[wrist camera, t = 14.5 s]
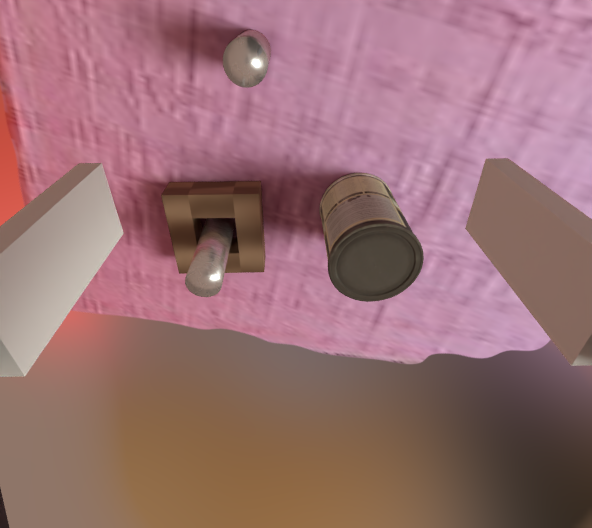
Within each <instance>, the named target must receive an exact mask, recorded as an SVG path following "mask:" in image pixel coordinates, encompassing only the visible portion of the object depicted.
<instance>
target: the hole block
mask: <svg viewBox="0 0 592 528" xmlns="http://www.w3.org/2000/svg"><path fill="white" fill-rule="evenodd" d="M161 196H162V201H163V205H164V209H165V214H166V218H167V222H168V227H169V231H170V236H171V240H172V244H173V249H174V253H175V257H176V262H177V266H178V270H179V273H188V270H189V267H190V264H191V261H192V258H193V256H194V253H195V250H196V247H197V244H198V242H199V239H200V236H201V233H202V224H201V218H235V221H236V230H237V238H232V241H231V246H230V250H229V255H228V259H227V264H226V269H225V273H239V272H264V267H265V242H264V226H263V210H262V194H261V181H230V182H169V184H168V185H167V187H166V189H165V190H164V192H163V193H162V195H161Z"/></svg>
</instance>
